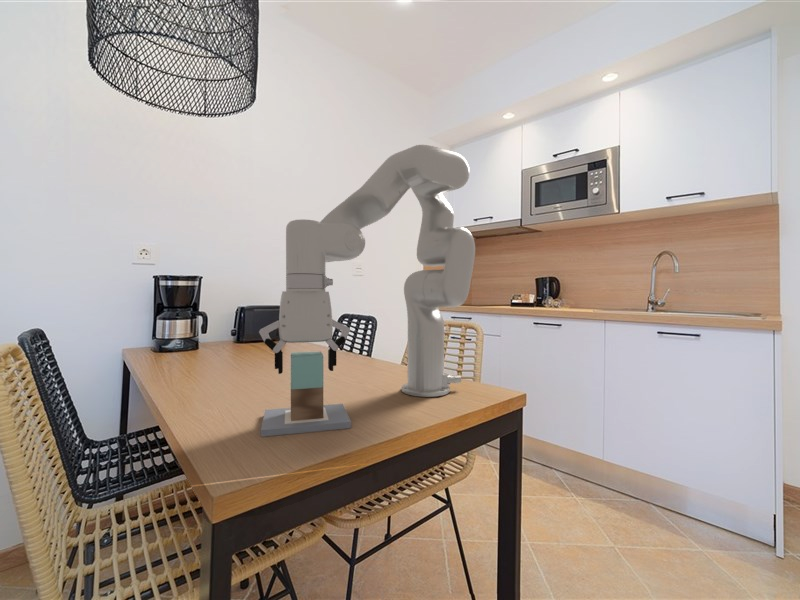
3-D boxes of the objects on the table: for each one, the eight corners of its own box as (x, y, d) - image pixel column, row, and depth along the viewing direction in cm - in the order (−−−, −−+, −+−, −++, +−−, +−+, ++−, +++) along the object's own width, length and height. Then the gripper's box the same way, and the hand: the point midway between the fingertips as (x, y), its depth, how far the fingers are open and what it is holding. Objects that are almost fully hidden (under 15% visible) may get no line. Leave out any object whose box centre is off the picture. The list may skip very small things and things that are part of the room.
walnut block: (320, 408, 78) (320, 380, 78) (323, 418, 72) (323, 387, 72) (290, 411, 76) (290, 382, 76) (290, 421, 70) (290, 389, 70)
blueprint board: (342, 409, 82) (342, 403, 82) (351, 427, 70) (351, 421, 70) (265, 415, 77) (265, 409, 77) (260, 436, 66) (260, 429, 66)
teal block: (320, 380, 78) (320, 351, 77) (323, 387, 72) (323, 356, 72) (290, 382, 76) (290, 352, 76) (290, 389, 70) (290, 357, 70)
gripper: (347, 285, 79) (347, 365, 80) (260, 284, 75) (260, 369, 75) (352, 284, 72) (352, 372, 73) (257, 283, 67) (257, 377, 68)
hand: (306, 371), depth 74 cm, fingers open, 9 cm apart
